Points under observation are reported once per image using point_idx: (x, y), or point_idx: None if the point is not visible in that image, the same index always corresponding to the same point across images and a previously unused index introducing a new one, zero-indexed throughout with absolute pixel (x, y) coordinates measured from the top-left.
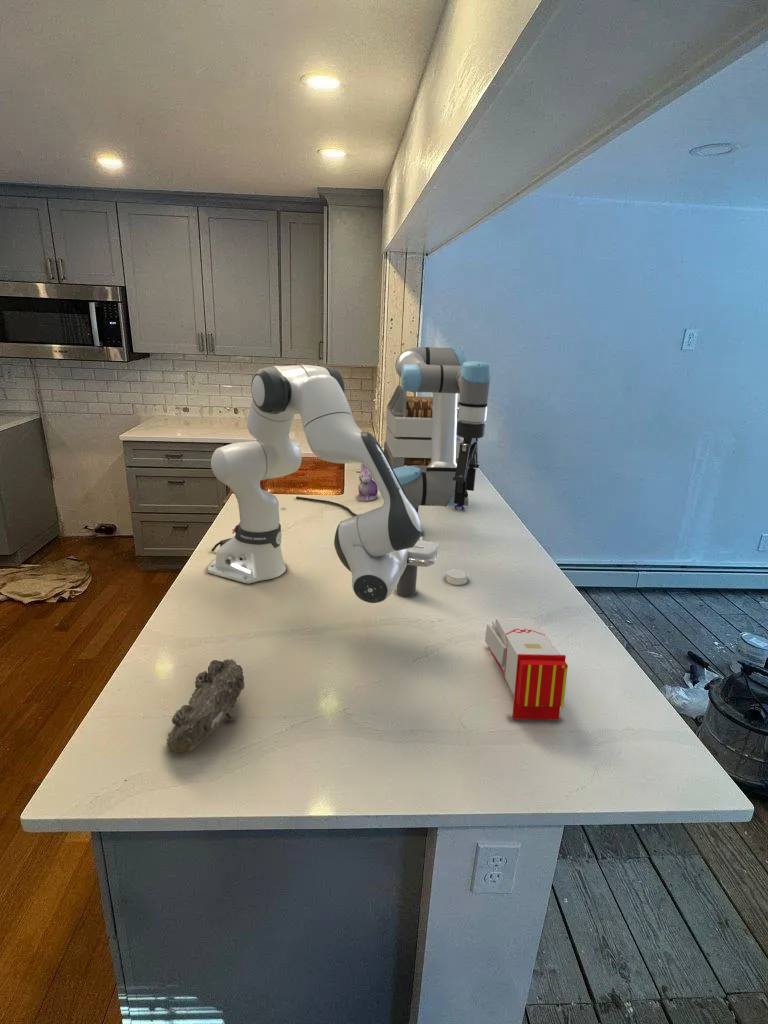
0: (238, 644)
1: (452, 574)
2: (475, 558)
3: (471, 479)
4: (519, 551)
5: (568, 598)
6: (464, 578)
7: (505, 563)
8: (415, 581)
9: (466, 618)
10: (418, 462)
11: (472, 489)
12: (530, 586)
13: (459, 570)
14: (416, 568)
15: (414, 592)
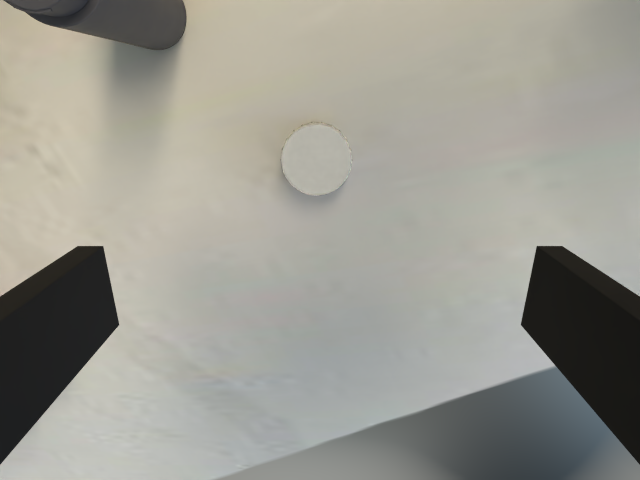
0: None
1: (301, 148)
2: (510, 181)
3: (593, 372)
4: None
5: (334, 426)
6: (299, 189)
7: (496, 274)
8: (132, 44)
9: (106, 231)
10: None
11: (529, 324)
12: (363, 349)
13: (343, 163)
14: (106, 38)
15: (148, 48)
